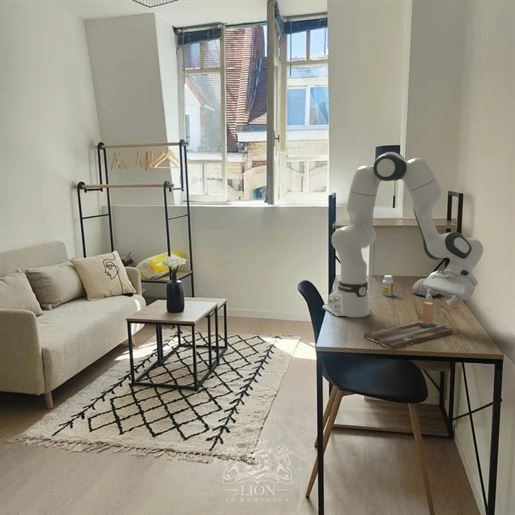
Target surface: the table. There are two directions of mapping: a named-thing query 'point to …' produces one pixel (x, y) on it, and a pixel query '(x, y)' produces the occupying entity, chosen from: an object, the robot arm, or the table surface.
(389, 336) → the track board
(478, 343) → the table surface
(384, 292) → the supplement bottle
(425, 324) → the fader tab
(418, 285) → the sea urchin shell
